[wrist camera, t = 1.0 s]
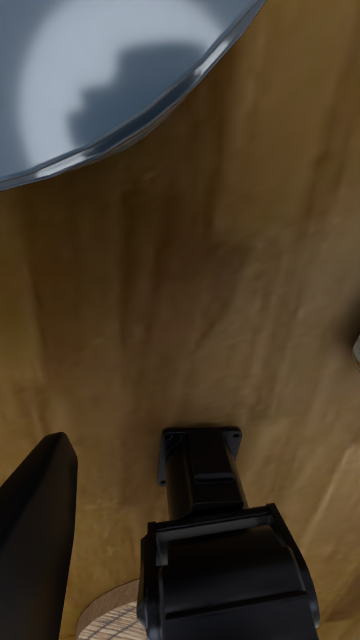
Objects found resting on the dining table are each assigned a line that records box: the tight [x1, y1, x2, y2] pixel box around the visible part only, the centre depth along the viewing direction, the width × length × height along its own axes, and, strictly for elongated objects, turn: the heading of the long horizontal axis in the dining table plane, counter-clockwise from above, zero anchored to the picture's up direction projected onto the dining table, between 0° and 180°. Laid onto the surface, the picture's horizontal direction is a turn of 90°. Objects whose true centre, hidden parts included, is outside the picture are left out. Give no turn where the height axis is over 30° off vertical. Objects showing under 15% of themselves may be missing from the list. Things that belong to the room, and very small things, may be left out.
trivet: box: [75, 579, 149, 640], centre depth 41 cm, size 25×25×2 cm
